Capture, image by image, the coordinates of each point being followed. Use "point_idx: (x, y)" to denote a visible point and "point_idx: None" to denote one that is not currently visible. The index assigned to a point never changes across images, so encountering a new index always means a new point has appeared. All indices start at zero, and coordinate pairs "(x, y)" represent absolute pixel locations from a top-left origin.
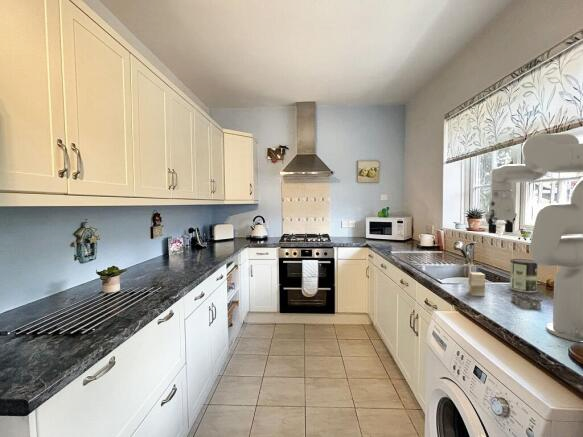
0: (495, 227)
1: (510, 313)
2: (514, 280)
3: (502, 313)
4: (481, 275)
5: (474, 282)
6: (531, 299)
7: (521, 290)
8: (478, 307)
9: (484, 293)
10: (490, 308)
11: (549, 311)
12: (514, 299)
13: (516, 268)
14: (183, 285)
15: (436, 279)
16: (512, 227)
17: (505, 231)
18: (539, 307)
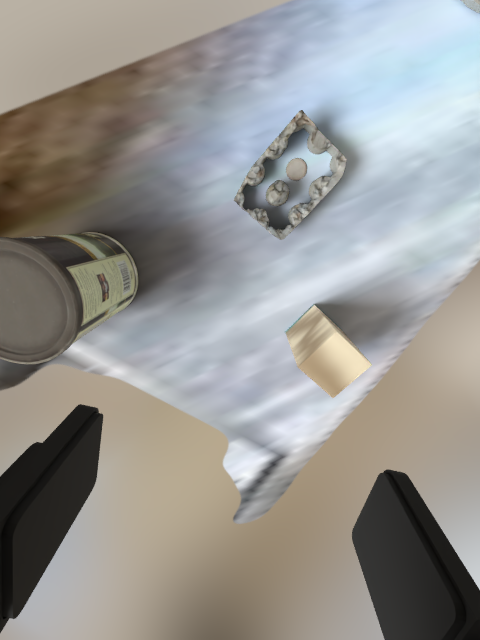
0: (450, 553)
1: (438, 163)
2: (122, 297)
3: (459, 179)
4: (345, 339)
5: (353, 344)
6: (263, 171)
7: (133, 264)
8: (455, 254)
9: (316, 307)
10: (435, 227)
11: (301, 94)
12: (289, 218)
13: (96, 304)
14: None
15: (248, 486)
16: (40, 457)
17: (93, 481)
18: (303, 126)
